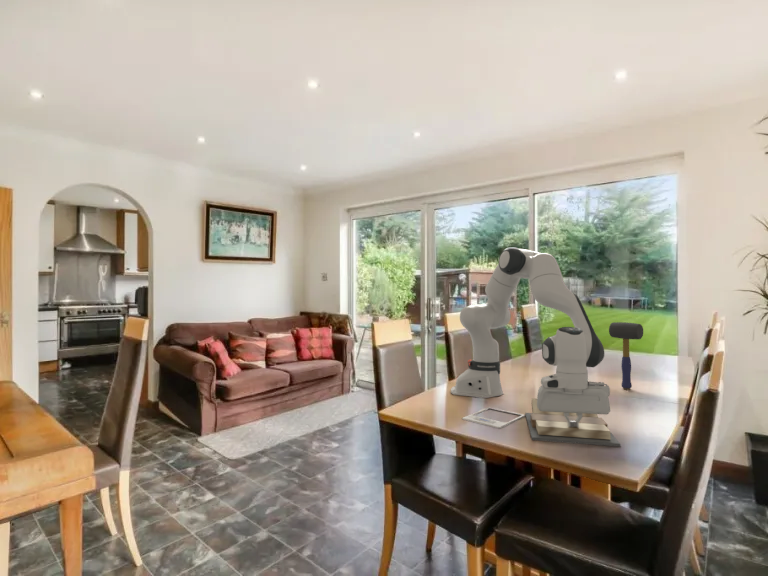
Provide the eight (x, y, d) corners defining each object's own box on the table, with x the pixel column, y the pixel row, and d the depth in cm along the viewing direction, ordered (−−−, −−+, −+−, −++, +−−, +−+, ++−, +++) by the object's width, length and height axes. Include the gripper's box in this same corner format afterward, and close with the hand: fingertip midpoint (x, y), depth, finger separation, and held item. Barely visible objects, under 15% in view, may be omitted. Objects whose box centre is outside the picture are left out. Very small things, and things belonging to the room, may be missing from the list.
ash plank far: (533, 418, 143) (533, 413, 142) (531, 403, 149) (531, 398, 148) (597, 422, 138) (598, 417, 137) (592, 407, 144) (593, 401, 143)
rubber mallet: (608, 387, 191) (607, 322, 191) (616, 385, 196) (615, 321, 196) (638, 393, 181) (637, 323, 181) (645, 390, 186) (644, 322, 186)
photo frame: (462, 417, 147) (488, 406, 160) (462, 420, 147) (488, 409, 160) (499, 426, 137) (525, 414, 150) (499, 429, 137) (525, 417, 150)
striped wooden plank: (532, 427, 135) (532, 419, 135) (530, 420, 142) (530, 413, 142) (607, 432, 130) (607, 424, 130) (601, 425, 137) (601, 417, 137)
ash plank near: (538, 434, 128) (538, 426, 128) (535, 428, 135) (535, 420, 135) (610, 439, 123) (610, 430, 123) (604, 432, 130) (604, 424, 130)
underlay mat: (532, 439, 126) (532, 437, 126) (525, 414, 151) (525, 412, 152) (620, 446, 120) (620, 443, 120) (598, 419, 146) (597, 417, 146)
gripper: (606, 380, 128) (608, 426, 127) (535, 378, 133) (536, 422, 132) (612, 384, 122) (613, 432, 121) (537, 381, 127) (538, 428, 126)
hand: (573, 427), depth 127 cm, fingers closed, pressing on ash plank near
